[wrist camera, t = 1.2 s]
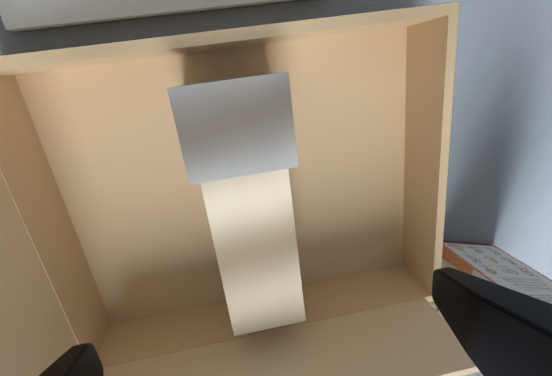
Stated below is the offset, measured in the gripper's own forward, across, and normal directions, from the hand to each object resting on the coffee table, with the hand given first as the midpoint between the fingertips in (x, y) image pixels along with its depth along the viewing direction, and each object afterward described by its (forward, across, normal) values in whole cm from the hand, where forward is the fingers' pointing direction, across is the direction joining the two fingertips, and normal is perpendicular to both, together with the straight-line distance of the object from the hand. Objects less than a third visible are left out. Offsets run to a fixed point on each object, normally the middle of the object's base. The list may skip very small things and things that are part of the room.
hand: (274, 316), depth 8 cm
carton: (+12, 0, +1) cm, 12 cm away
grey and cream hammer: (+12, 0, +1) cm, 12 cm away
